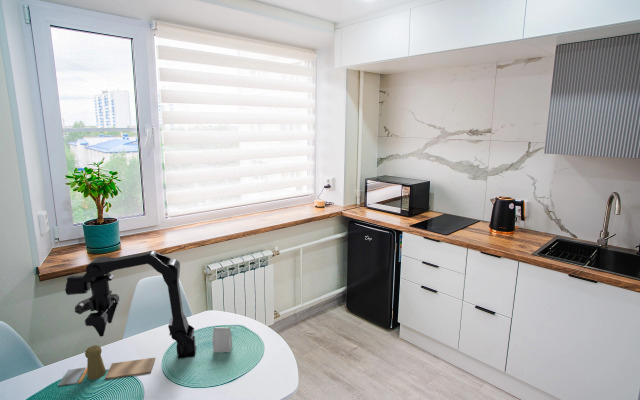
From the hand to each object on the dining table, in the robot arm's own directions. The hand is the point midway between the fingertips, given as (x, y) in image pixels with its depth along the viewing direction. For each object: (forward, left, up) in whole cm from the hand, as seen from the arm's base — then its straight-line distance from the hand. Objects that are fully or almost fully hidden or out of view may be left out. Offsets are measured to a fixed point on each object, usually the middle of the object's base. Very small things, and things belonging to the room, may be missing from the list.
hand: (105, 329), depth 138 cm
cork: (+3, +5, -15) cm, 16 cm away
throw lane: (0, +5, -15) cm, 16 cm away
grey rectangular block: (-42, +1, -15) cm, 45 cm away
